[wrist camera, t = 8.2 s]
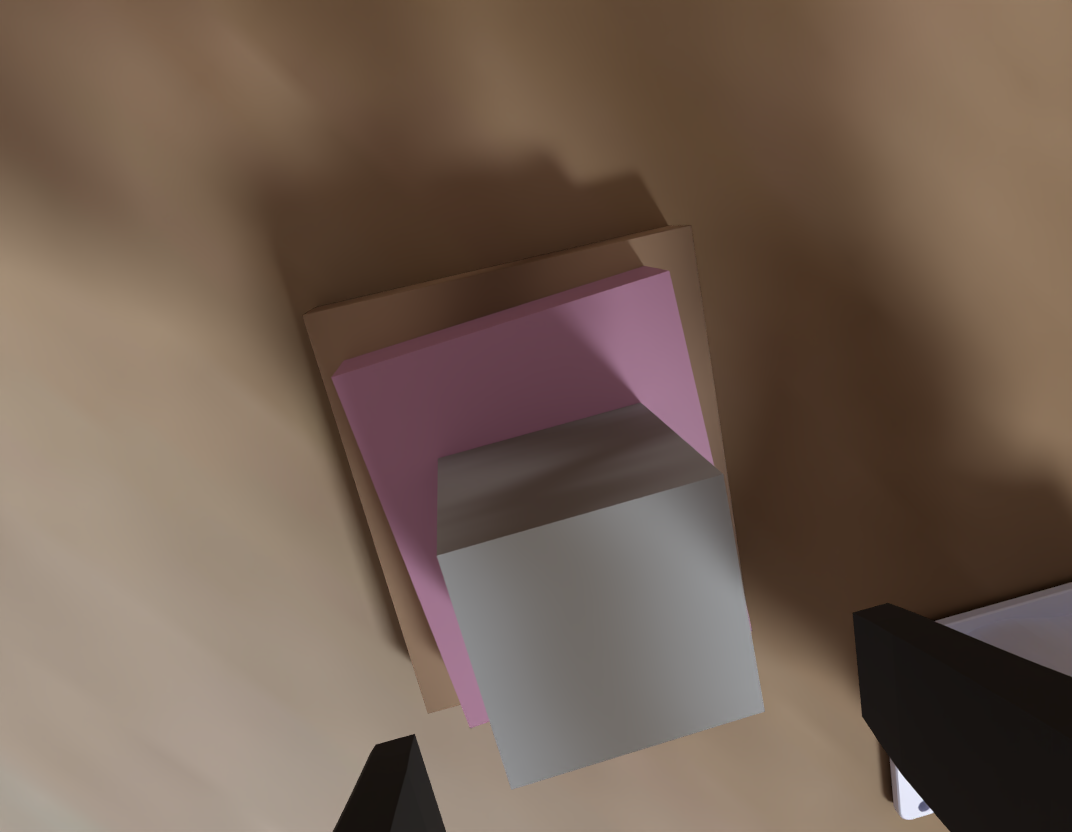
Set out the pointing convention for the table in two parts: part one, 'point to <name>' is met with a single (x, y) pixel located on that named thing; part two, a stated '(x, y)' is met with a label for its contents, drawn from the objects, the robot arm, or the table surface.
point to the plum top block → (509, 407)
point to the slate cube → (595, 590)
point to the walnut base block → (475, 296)
